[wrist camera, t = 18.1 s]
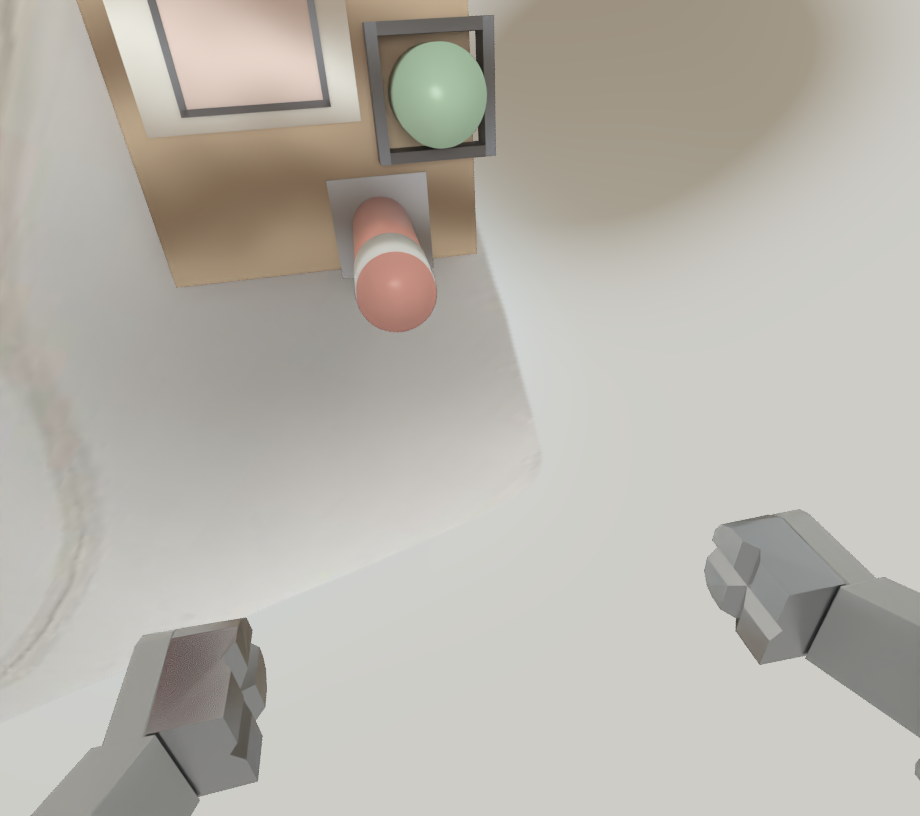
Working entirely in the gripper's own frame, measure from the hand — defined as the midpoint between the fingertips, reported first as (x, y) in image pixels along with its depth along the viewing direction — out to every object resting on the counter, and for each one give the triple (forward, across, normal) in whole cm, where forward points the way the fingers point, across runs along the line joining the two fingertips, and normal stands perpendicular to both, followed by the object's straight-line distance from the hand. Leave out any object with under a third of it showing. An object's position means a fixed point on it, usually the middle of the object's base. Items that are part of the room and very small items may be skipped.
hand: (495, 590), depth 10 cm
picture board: (+25, +3, -8) cm, 27 cm away
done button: (+24, -3, -6) cm, 25 cm away
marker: (+24, 0, 0) cm, 24 cm away
